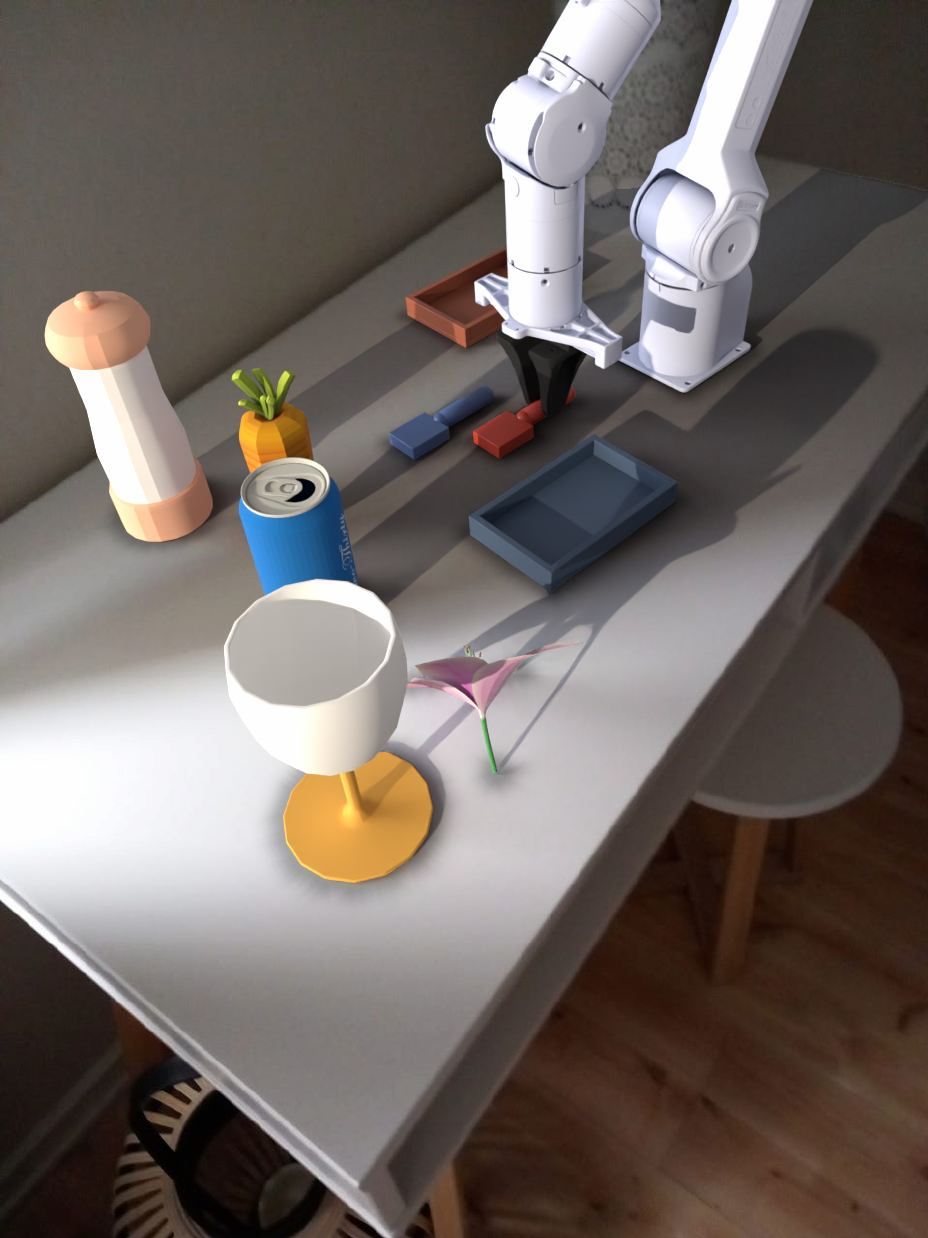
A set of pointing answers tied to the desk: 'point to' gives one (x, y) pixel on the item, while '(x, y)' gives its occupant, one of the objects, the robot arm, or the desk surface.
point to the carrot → (271, 421)
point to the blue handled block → (437, 424)
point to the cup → (332, 723)
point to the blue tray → (572, 511)
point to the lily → (474, 680)
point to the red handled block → (511, 429)
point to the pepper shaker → (130, 415)
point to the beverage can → (295, 524)
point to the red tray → (460, 302)
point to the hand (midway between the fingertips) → (545, 404)
